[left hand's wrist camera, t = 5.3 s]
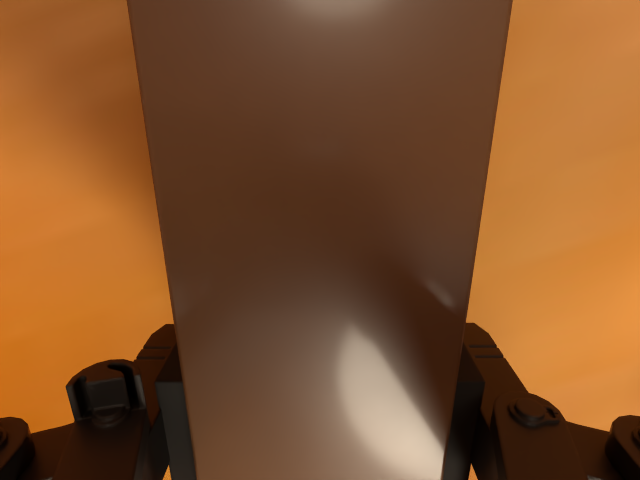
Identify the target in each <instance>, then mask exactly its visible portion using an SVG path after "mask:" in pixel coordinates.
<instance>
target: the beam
mask: <svg viewBox="0 0 640 480" xmlns="http://www.w3.org/2000/svg"><path fill="white" fill-rule="evenodd" d="M512 1H513V0H127V5H128V12H129V19H130V25H131V32H132V39H133V46H134V53H135V60H136V66H137V73H138V80H139V87H140V94H141V101H142V108H143V114H144V121H145V128H146V135H147V142H148V149H149V155H150V162H151V169H152V176H153V183H154V190H155V196H156V203H157V210H158V217H159V224H160V231H161V238H162V244H163V251H164V258H165V265H166V272H167V279H168V285H169V292H170V299H171V306H172V313H173V320H174V326H175V333H176V340H177V347H178V354H179V361H180V367H181V374H182V381H183V388H184V395H185V402H186V409H187V415H188V422H189V429H190V436H191V443H192V450H193V456H194V463H195V470H196V477H197V480H443V475H444V468H445V461H446V454H447V447H448V440H449V433H450V427H451V420H452V413H453V406H454V399H455V392H456V385H457V379H458V372H459V365H460V358H461V351H462V344H463V337H464V331H465V324H466V317H467V310H468V303H469V296H470V289H471V283H472V276H473V269H474V262H475V255H476V248H477V241H478V235H479V228H480V221H481V214H482V207H483V200H484V193H485V187H486V180H487V173H488V166H489V159H490V152H491V145H492V139H493V132H494V125H495V118H496V111H497V104H498V97H499V90H500V84H501V77H502V70H503V63H504V56H505V49H506V42H507V36H508V29H509V22H510V15H511V8H512Z"/></svg>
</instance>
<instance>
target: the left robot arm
mask: <svg viewBox="0 0 640 480" xmlns="http://www.w3.org/2000/svg"><path fill="white" fill-rule="evenodd" d="M66 390H67V394H68V397H69V401H70V405H71V408H72V412H73V416H74V419H75V421H74V423H71V424H68V425H65V426H61V427H57V428H53V429H48V430H44V431H40V432H36V433H30V430H29V427H28V424H27V423H26V422H25V421H24V420H22V419H21V418H15V417H6V418H0V480H163V477H164V475H165V472H166V470H167V467H168V465H169V468H170V474H171V479H172V480H197V477H196V470H195V463H194V456H193V450H192V443H191V436H190V429H189V422H188V415H187V409H186V402H185V395H184V388H183V381H182V374H181V367H180V361H179V354H178V347H177V340H176V333H175V326H174V324H165V325H164V326H163V327H161V328H160V329H159V330H157V331H156V332H155V333H153V334H152V335H151V336H150V338H149V339H148V341H147V342H146V344H145V345H144V347H143V349H142V350H141V351H140V353H139V354H138V356H137V359H136V360H134V362H132V361H128V360H124V359H116V360H107V361H103V362H99V363H96V364H94V365H92V366H89V367H87V368H85V369H83V370H82V371H80V372H79V373H78V374H76V375H75V376H73V377H72V378H71V380H70V381H69V382H68V384H67V385H66ZM471 463H472V466H473V469H474V471H475V474H476V476H477V479H478V480H640V416H633V415H627V416H621V417H618V418H617V419H616V420H615V421H613V422H612V425H611V428H610V432H608V431H603V430H599V429H595V428H590V427H586V426H582V425H578V424H574V423H571V422H568V421H566V420H565V419H564V417H563V416H562V414H561V412H560V411H559V410H558V409H557V408H556V407H555V406H553V405H552V404H551V403H550V402H549V401H547V400H545V399H543V398H541V397H539V396H537V395H534V394H531V393H528V391H527V390H526V388H525V387H524V385H523V384H522V382H521V381H520V379H519V378H518V376H517V375H516V373H515V372H514V371H513V369H512V368H511V366H510V365H509V363H508V362H507V360H506V359H505V358H504V357H503V354H502V353H501V351H500V350H499V348H497V345H496V344H495V342H494V341H493V339H492V338H491V336H490V335H489V333H487V332H486V331H484V330H483V329H482V328H480V327H479V326H478V325H476V324H475V323H466V324H465V331H464V337H463V344H462V351H461V358H460V365H459V372H458V379H457V385H456V392H455V399H454V406H453V413H452V420H451V427H450V433H449V440H448V447H447V454H446V461H445V468H444V475H443V480H468V478H469V472H470V466H471Z"/></svg>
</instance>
